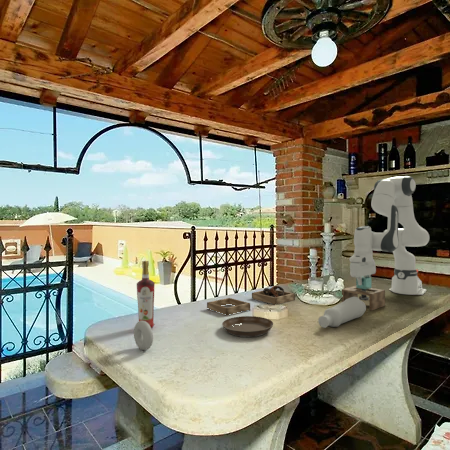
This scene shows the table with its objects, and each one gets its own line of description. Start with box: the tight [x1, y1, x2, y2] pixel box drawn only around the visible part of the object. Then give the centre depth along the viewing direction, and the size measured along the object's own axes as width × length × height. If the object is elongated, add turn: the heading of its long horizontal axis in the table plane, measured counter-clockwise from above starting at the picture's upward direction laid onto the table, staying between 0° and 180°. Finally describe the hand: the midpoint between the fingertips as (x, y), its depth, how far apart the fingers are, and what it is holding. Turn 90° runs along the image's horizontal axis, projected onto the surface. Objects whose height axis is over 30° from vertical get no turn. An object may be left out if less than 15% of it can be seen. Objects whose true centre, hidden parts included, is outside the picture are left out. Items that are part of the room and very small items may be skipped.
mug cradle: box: [251, 289, 296, 305], centre depth 183 cm, size 16×18×4 cm
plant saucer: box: [221, 315, 274, 338], centre depth 130 cm, size 21×21×3 cm
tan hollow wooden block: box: [341, 285, 386, 311], centre depth 167 cm, size 14×16×8 cm
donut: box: [133, 320, 154, 351], centre depth 111 cm, size 10×4×10 cm, turn 43°
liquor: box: [136, 260, 155, 329], centre depth 135 cm, size 7×7×28 cm
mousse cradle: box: [206, 297, 251, 316], centre depth 162 cm, size 15×16×4 cm
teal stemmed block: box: [355, 276, 373, 301], centre depth 167 cm, size 5×5×12 cm
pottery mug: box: [262, 285, 285, 297], centre depth 185 cm, size 12×10×8 cm
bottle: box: [317, 296, 367, 329], centre depth 139 cm, size 9×9×30 cm
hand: (363, 284), depth 167 cm, fingers closed on teal stemmed block, 5 cm apart
